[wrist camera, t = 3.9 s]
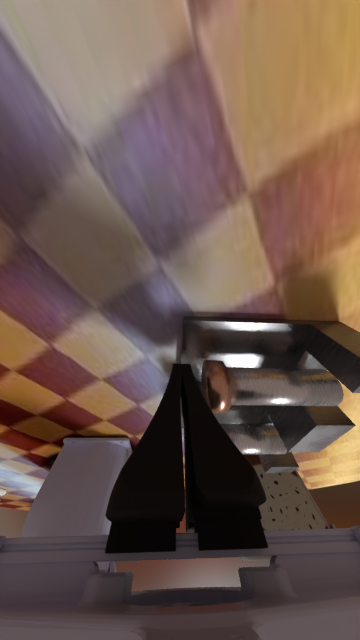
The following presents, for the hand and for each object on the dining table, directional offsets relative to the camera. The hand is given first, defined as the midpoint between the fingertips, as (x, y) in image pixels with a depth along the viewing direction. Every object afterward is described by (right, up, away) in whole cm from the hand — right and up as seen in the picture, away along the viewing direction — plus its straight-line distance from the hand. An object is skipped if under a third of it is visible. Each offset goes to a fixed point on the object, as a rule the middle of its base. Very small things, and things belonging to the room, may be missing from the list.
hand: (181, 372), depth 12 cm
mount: (+6, -3, +4) cm, 8 cm away
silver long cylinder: (+6, -8, +6) cm, 11 cm away
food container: (+13, -20, +15) cm, 28 cm away
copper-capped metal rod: (+6, 0, +1) cm, 6 cm away
